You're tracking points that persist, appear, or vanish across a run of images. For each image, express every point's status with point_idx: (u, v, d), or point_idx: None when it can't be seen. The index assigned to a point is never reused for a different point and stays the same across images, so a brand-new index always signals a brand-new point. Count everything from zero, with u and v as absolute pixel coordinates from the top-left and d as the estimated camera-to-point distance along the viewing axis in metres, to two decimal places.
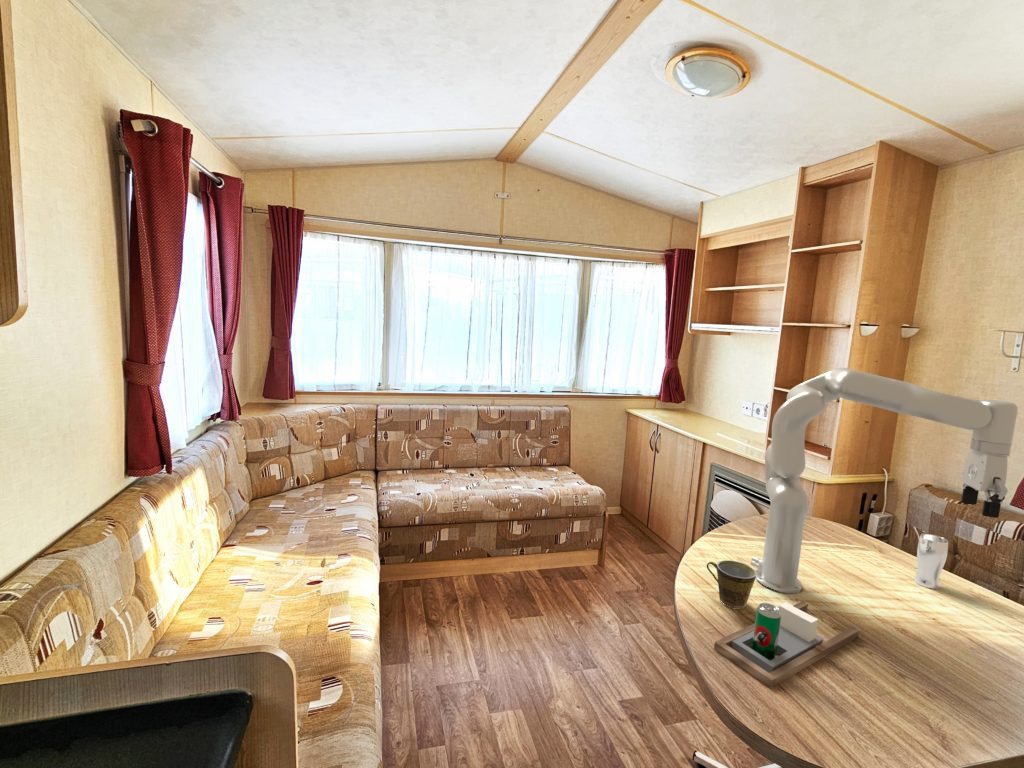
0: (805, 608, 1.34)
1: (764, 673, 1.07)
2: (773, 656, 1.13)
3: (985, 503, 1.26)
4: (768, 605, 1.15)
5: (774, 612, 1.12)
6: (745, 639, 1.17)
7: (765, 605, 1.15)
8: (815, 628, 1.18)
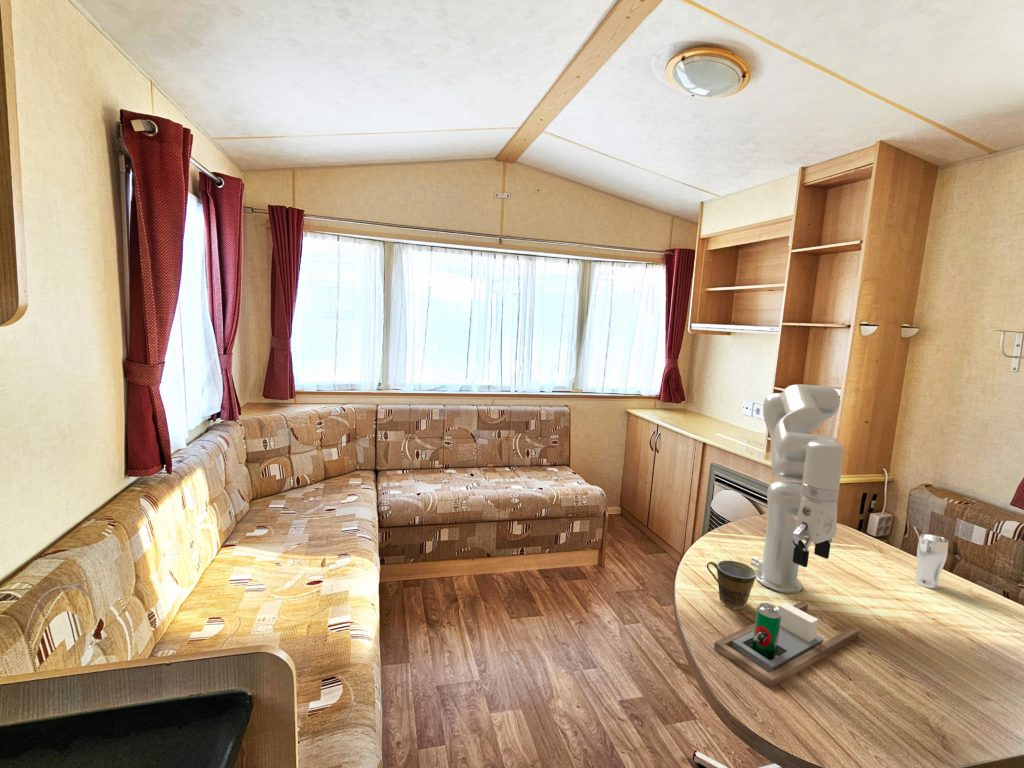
0: (805, 608, 1.34)
1: (764, 673, 1.07)
2: (773, 656, 1.13)
3: None
4: (768, 605, 1.15)
5: (774, 612, 1.12)
6: (745, 639, 1.17)
7: (765, 605, 1.15)
8: (815, 628, 1.18)
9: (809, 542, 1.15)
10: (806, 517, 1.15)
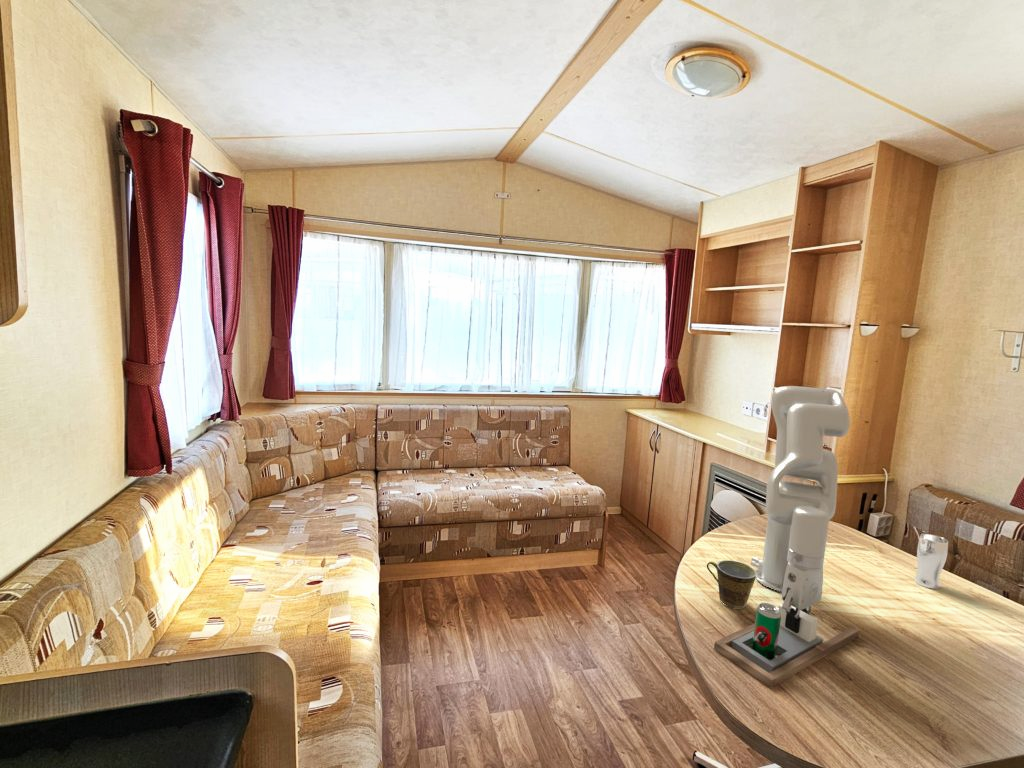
0: None
1: (764, 673, 1.07)
2: (773, 656, 1.13)
3: None
4: (768, 605, 1.15)
5: (774, 612, 1.12)
6: (745, 639, 1.17)
7: (765, 605, 1.15)
8: (815, 628, 1.18)
9: (799, 609, 1.18)
10: (792, 583, 1.17)
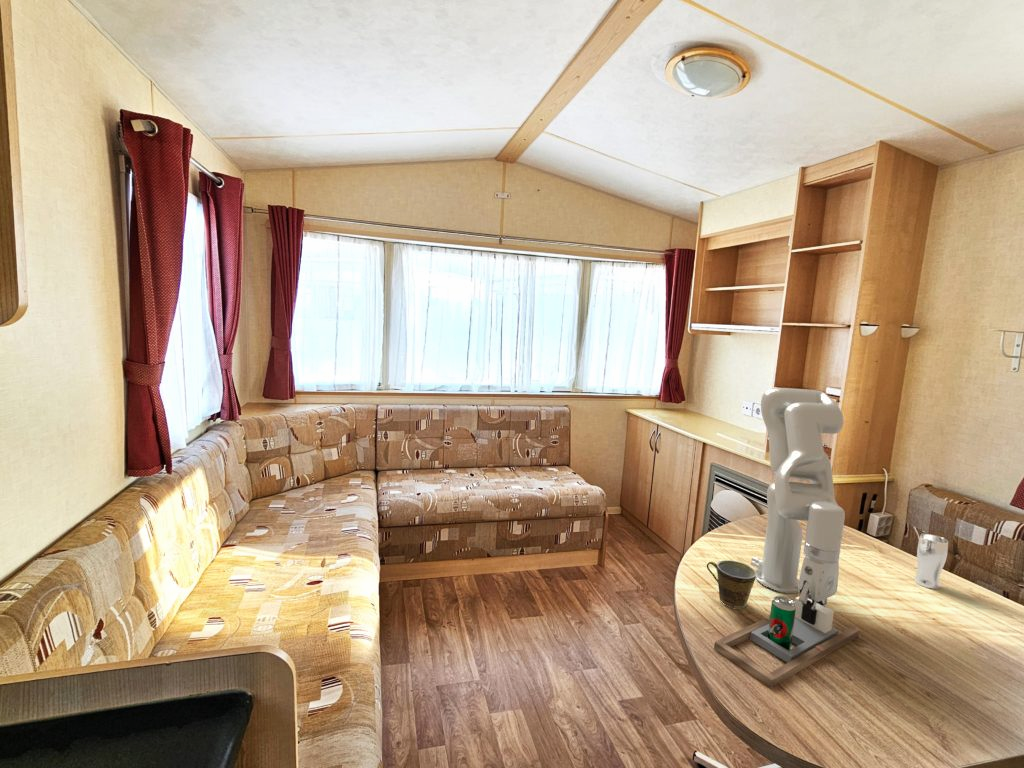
0: None
1: (764, 673, 1.07)
2: (788, 647, 1.16)
3: None
4: (783, 598, 1.18)
5: (789, 604, 1.15)
6: (763, 630, 1.21)
7: (780, 598, 1.18)
8: (831, 620, 1.22)
9: (815, 601, 1.22)
10: (808, 576, 1.21)
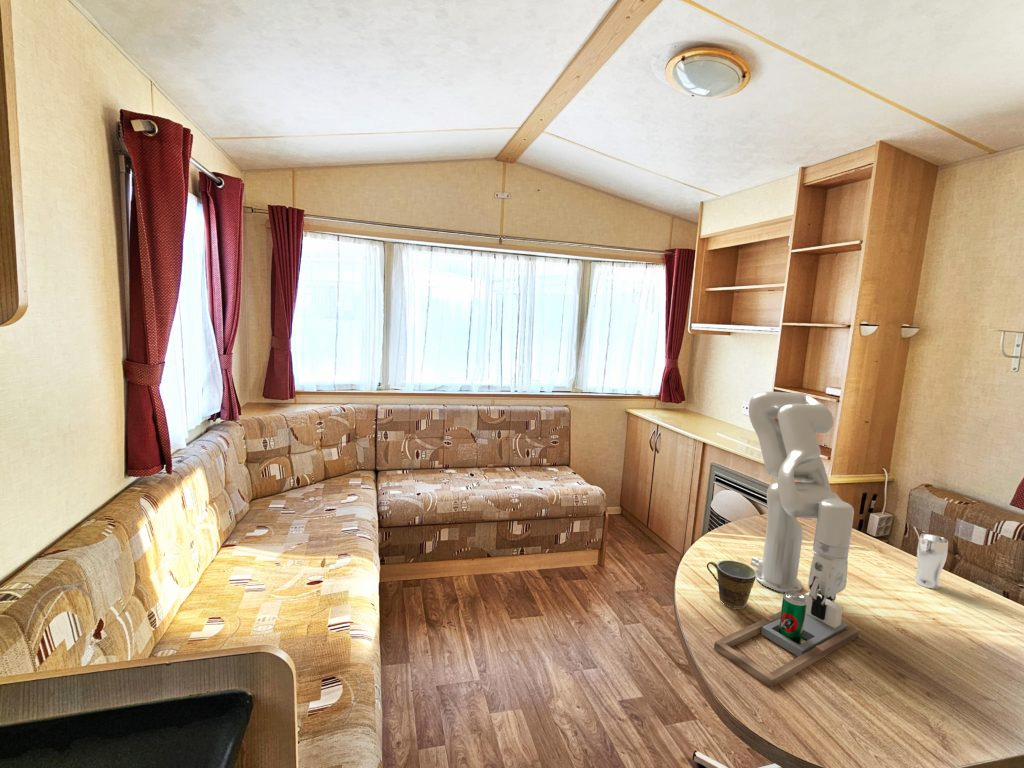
0: None
1: (764, 673, 1.07)
2: (799, 642, 1.18)
3: None
4: (793, 593, 1.20)
5: (800, 600, 1.18)
6: (774, 625, 1.23)
7: (791, 593, 1.20)
8: (840, 615, 1.24)
9: (824, 597, 1.24)
10: (818, 572, 1.23)
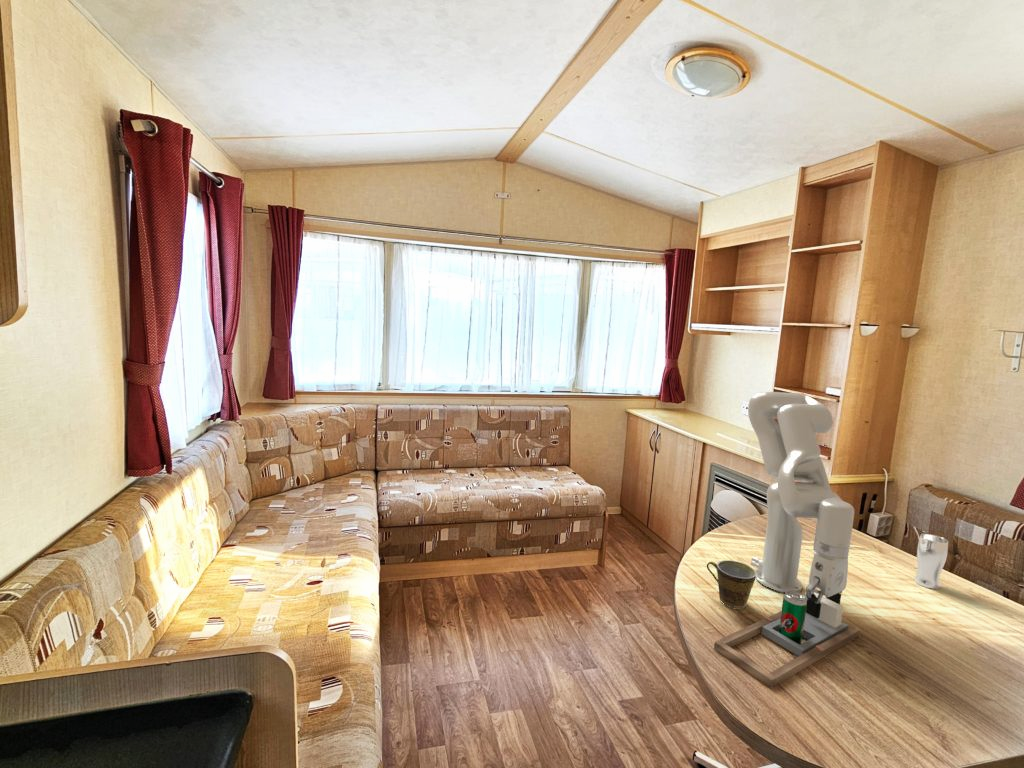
0: None
1: (764, 673, 1.07)
2: (799, 641, 1.19)
3: None
4: (794, 593, 1.21)
5: (800, 600, 1.18)
6: (774, 625, 1.24)
7: (791, 593, 1.20)
8: (840, 615, 1.24)
9: (821, 595, 1.23)
10: (818, 572, 1.23)
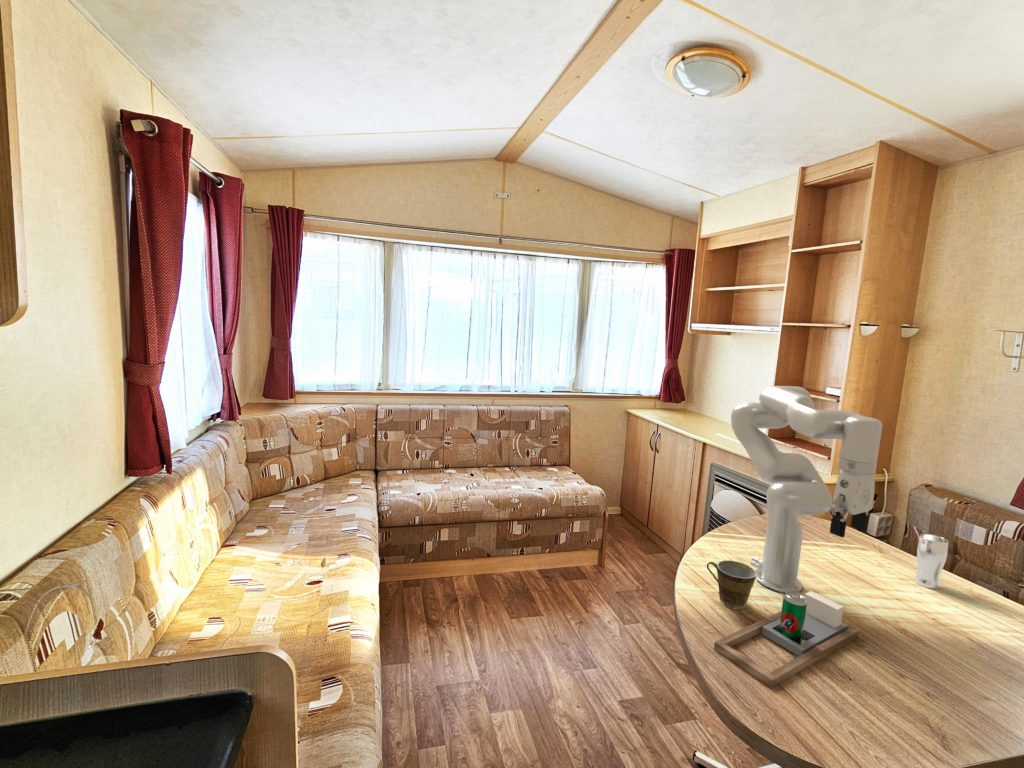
0: None
1: (764, 673, 1.07)
2: (799, 641, 1.19)
3: None
4: (794, 593, 1.21)
5: (800, 600, 1.18)
6: (774, 625, 1.24)
7: (791, 593, 1.20)
8: (840, 615, 1.24)
9: (846, 513, 1.20)
10: (844, 489, 1.19)
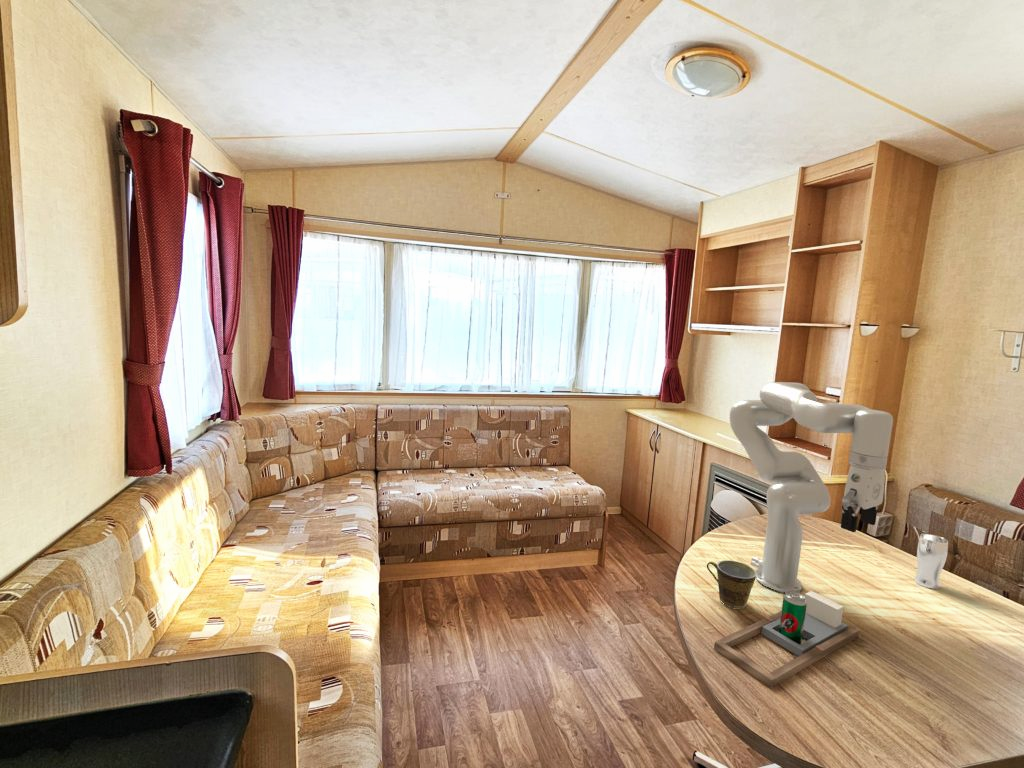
0: None
1: (764, 673, 1.07)
2: (799, 641, 1.19)
3: None
4: (794, 593, 1.21)
5: (800, 600, 1.18)
6: (774, 625, 1.24)
7: (791, 593, 1.20)
8: (840, 615, 1.24)
9: (858, 508, 1.18)
10: (855, 483, 1.18)
